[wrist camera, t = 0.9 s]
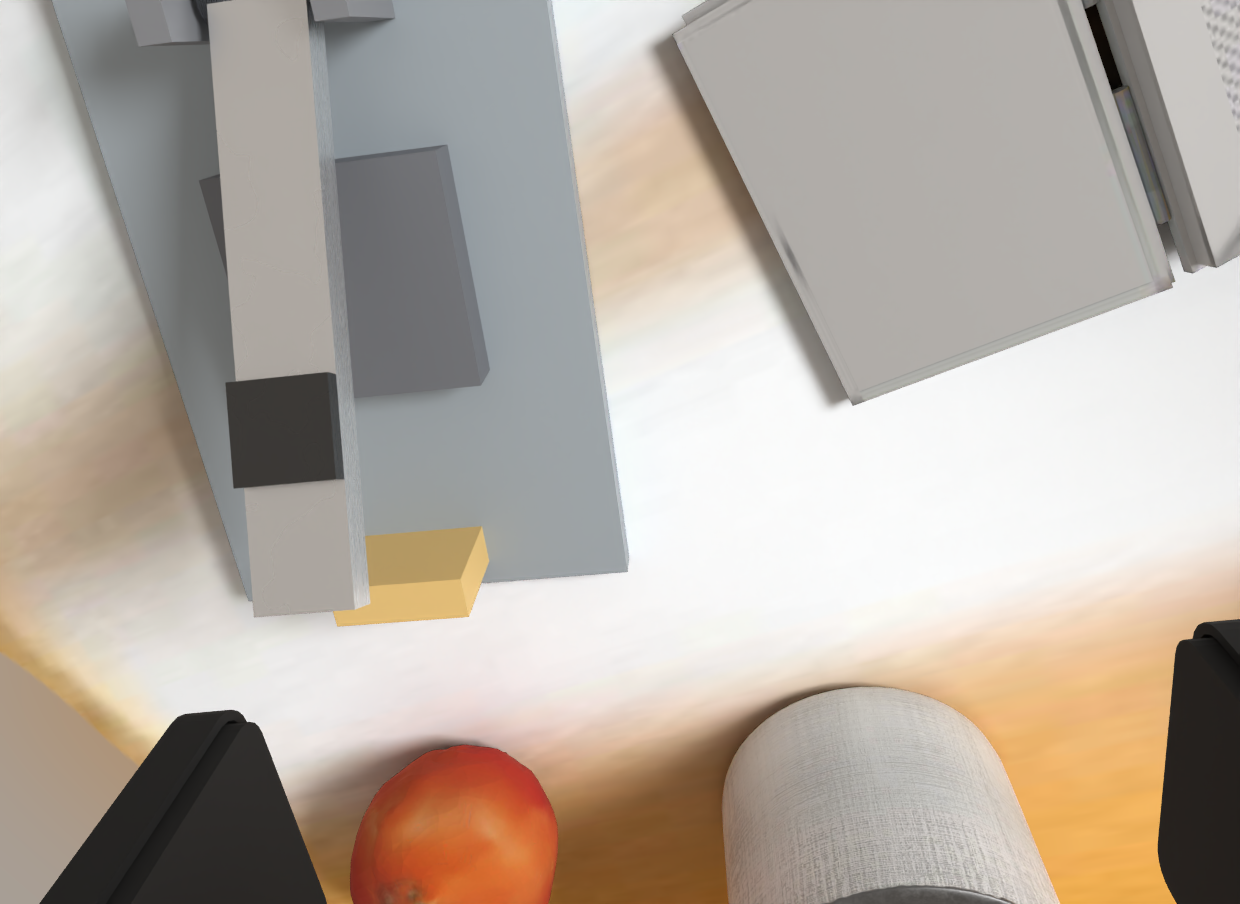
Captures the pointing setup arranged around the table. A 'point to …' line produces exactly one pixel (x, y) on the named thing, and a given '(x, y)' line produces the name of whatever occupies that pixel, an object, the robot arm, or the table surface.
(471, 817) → the tomato
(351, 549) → the clamp bar
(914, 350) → the gadget
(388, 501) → the clamp base
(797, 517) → the table surface
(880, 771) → the planter
